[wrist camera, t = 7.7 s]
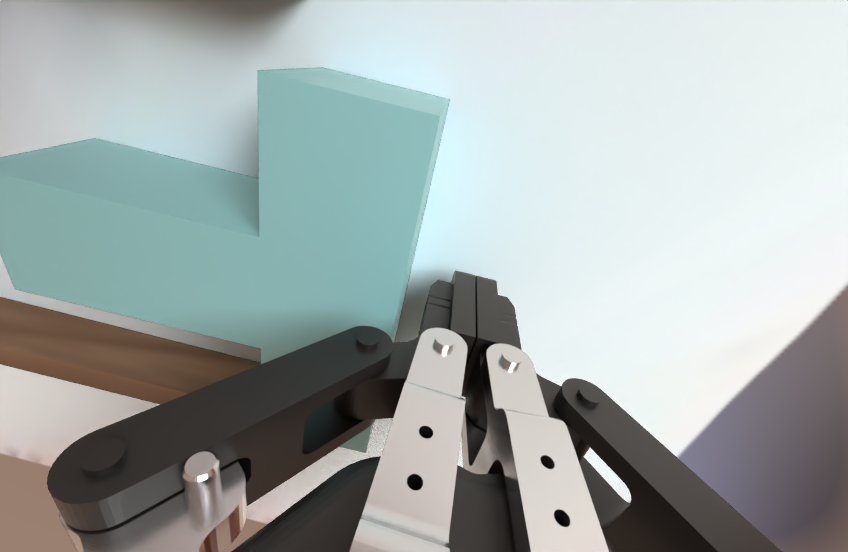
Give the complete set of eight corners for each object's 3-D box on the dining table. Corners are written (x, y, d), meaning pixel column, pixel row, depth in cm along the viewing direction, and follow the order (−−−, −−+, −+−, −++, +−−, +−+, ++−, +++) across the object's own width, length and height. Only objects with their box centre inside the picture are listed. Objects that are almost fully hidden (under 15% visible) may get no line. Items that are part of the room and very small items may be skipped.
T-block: (64, 2, 11) (-114, -23, 8) (449, 99, 12) (440, 116, 8) (134, 314, 17) (51, 377, 14) (386, 375, 18) (365, 452, 14)
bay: (-419, -267, 10) (-677, -362, 7) (316, -64, 10) (273, -98, 8) (-97, 290, 18) (-173, 320, 16) (287, 387, 19) (262, 430, 17)
